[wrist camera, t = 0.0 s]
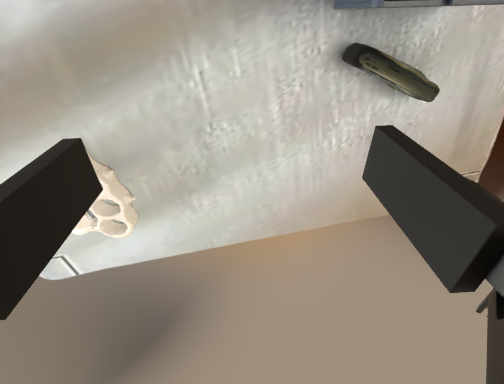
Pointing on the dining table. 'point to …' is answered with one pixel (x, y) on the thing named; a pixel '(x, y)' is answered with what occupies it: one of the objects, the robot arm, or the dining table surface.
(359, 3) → the carton
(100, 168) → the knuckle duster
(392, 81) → the olive green pouch
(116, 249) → the dining table surface
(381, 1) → the flap
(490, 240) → the robot arm
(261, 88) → the dining table surface
